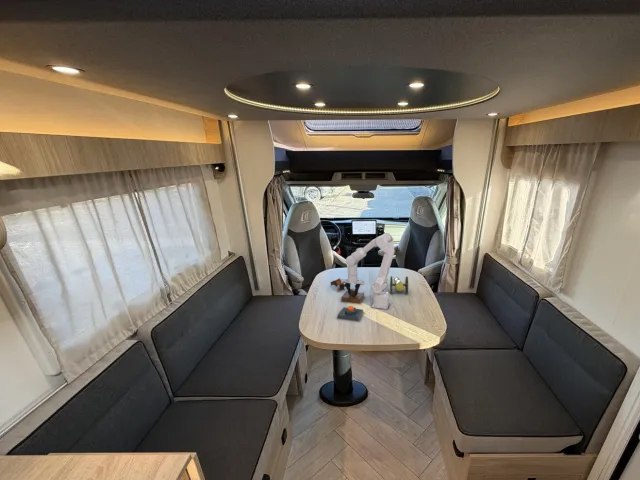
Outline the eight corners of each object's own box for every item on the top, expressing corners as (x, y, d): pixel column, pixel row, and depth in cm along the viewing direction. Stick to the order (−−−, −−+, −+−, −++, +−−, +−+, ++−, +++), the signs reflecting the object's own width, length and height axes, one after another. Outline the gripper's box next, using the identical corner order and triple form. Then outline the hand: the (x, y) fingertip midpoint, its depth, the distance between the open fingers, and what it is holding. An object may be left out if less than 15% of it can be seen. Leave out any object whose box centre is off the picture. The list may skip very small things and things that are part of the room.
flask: (363, 312, 179) (363, 306, 177) (358, 321, 170) (358, 314, 168) (343, 310, 181) (343, 304, 180) (337, 318, 172) (337, 312, 171)
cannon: (388, 282, 222) (388, 267, 218) (404, 282, 222) (405, 267, 218) (390, 297, 199) (390, 280, 195) (408, 297, 199) (409, 280, 195)
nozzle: (354, 309, 175) (354, 306, 175) (352, 311, 172) (352, 309, 172) (348, 308, 176) (348, 305, 176) (346, 311, 173) (346, 308, 172)
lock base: (364, 297, 199) (364, 292, 198) (360, 303, 190) (360, 299, 189) (346, 295, 202) (346, 290, 201) (341, 301, 193) (341, 297, 192)
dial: (356, 294, 196) (356, 288, 195) (355, 296, 192) (355, 290, 191) (350, 293, 197) (350, 287, 196) (348, 295, 193) (348, 290, 192)
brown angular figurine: (334, 293, 205) (329, 282, 205) (332, 294, 214) (328, 283, 214) (351, 286, 208) (346, 275, 208) (348, 287, 217) (343, 276, 218)
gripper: (365, 272, 192) (365, 293, 196) (343, 270, 195) (344, 290, 200) (362, 276, 185) (362, 297, 190) (339, 274, 189) (340, 295, 193)
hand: (353, 294), depth 194 cm, fingers closed on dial, 4 cm apart
